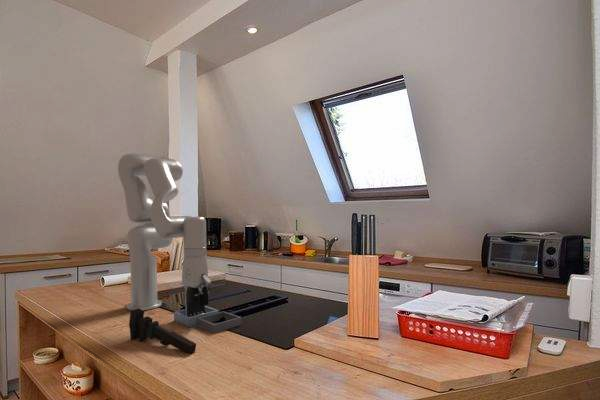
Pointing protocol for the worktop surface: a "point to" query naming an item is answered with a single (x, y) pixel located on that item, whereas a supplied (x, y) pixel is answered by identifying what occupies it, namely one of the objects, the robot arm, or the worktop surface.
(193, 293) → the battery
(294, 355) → the worktop surface
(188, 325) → the parts tray
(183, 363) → the worktop surface
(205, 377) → the worktop surface
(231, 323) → the socket frame
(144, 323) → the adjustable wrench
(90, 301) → the worktop surface
